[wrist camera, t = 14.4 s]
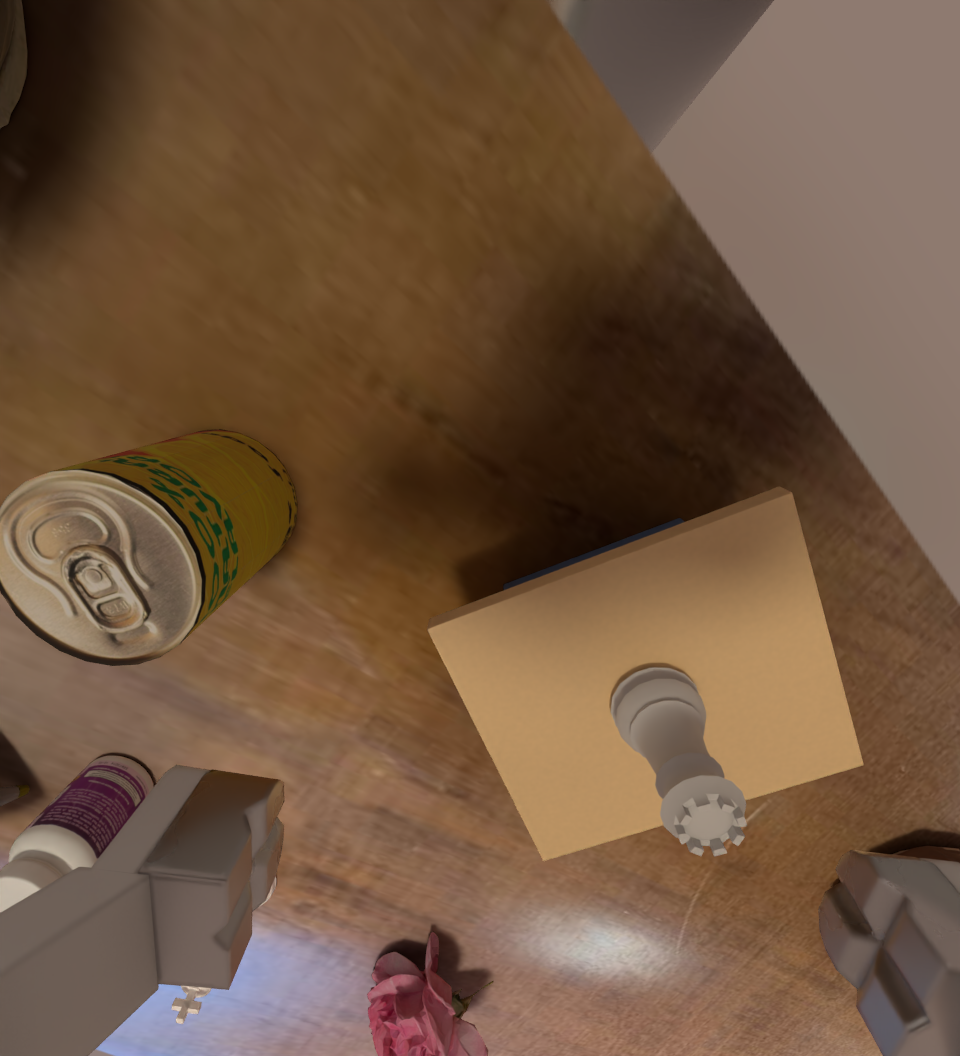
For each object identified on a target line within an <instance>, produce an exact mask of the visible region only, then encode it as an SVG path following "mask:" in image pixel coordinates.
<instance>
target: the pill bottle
mask: <svg viewBox="0 0 960 1056" xmlns="http://www.w3.org/2000/svg"><path fill="white" fill-rule="evenodd" d="M153 787H154V786H153V782H152V779H151V777H150V775H149V774H148V772H147V771H146V770H145V769H144V768H143V767H142V766H141V765H140V764H138V763H136V762H135V761H133V760H131V759H128V758H125V757H122V756H104V757H101V758H98V759H96V760H94V761H93V762H91V763H90V764H89V765H88V766H87V767H86V768H85V769H84V770H83V771H82V772H81V773H80V774H79V775H78V776H77V777H76V778H75V779H74V780H73V781H72V782H71V783H70V784H69V785H68V786H67V787H66V788H65V789H64V790H63V791H62V792H61V793H60V794H59V795H58V796H57V797H56V798H55V799H54V800H53V801H52V802H51V803H50V804H49V805H48V806H47V807H46V808H45V809H44V810H43V812H42V813H41V814H40V815H39V816H37V817H36V819H35V820H34V821H33V822H32V823H31V824H30V825H29V826H28V827H27V828H26V829H25V830H24V831H23V832H22V833H21V834H20V835H19V836H18V838H17V839H16V840H15V842H14V843H13V845H12V847H11V850H10V854H9V864H7V865H5V866H4V867H3V868H2V869H1V871H0V913H1V912H2V911H4V910H6V909H8V908H9V907H11V906H13V905H14V904H16V903H18V902H20V901H21V900H23V899H25V898H26V897H28V896H30V895H31V894H33V893H35V892H37V891H38V890H40V889H42V888H43V887H45V886H47V885H49V884H50V883H52V882H54V881H55V880H57V879H59V878H60V877H62V876H64V875H66V874H67V873H69V872H71V871H72V870H74V869H76V868H78V867H89V868H91V867H92V866H93V865H94V863H95V862H96V861H97V860H98V858H99V857H100V856H101V854H102V853H103V852H104V851H105V849H106V848H107V847H108V845H109V844H110V843H111V842H112V840H113V839H114V838H115V836H116V835H117V834H118V832H119V831H120V830H121V829H122V827H123V826H124V825H125V823H126V822H127V821H128V820H129V818H130V817H131V816H132V814H133V813H134V812H135V811H136V809H137V808H138V807H139V805H140V804H141V803H142V802H143V800H144V799H145V798H146V796H147V795H148V794H149V793H150V791H151V790H152V789H153Z"/></svg>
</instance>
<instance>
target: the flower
mask: <svg viewBox="0 0 960 1056" xmlns="http://www.w3.org/2000/svg"><path fill="white" fill-rule="evenodd" d="M438 955H439V940H438V937H437V935H436V934H435V933H434V932H431V934H430V937H429V940H428V945H427V950H426V960H425V970H424V971H420V970H419V969H418V968H417V966H416V965H415V964H414V963H412V962H411V961H410V960H408V959H407V958H405V957H404V956H402V955H400V954H398V953H397V952H392V953H389V954H386V955H384V956H382V957H381V958H380V959H379V960H377V962H376V966H375V970H374V972H373V973H372V978H373V979H374V981H375V982H376V983H377V984H378V985H376V986H375V987H373V988H371V991H370V992H369V993H368V994H367V995H368V999H369V1001H370V1002H371V1003H372V1004H371V1006H370V1007H369V1008H368V1015H369V1019H370V1025H369V1027H370V1028H371V1029H372V1033H371V1034H372V1035H373V1041H374V1045H375V1049H376V1052H377V1054H378V1056H488V1049H487V1047H486V1045H485V1044H484V1041H483V1039H482V1037H481V1036H480V1034H479V1033H478V1031H477V1029H476V1027H475V1025H473V1024H471V1023H468V1022H466V1021H464V1020H462V1019H461V1017H462V1016H463V1014H464V1013H465V1012H466V1011H467V1008H468V1006H469V1004H470V1001H471V999H472V997H473V996H474V995H475V994H476V993H477V992H478V991H479V990H478V991H477V992H476V993H474V994H473V995H471V996H468V997H466V998H463V999H460V996H459V993H460V991H461V990H462V989H461V990H458V991H455V992H452V989H451V986H450V985H449V984H447V983H446V982H445V981H444V980H443V979H442V978H441V977H439V976H438V975H437V974H436V972H437V969H438ZM491 983H493V981H492V982H490V983H489V984H491ZM489 984H487V985H486V986H488V985H489ZM486 986H484V987H486ZM484 987H483V988H484ZM481 989H482V988H481ZM481 989H480V990H481Z"/></svg>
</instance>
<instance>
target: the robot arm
mask: <svg viewBox="0 0 960 1056" xmlns="http://www.w3.org/2000/svg"><path fill="white" fill-rule="evenodd" d="M283 803H284V782H282V781H281V780H278V779H271V778H264V777H258V776H251V775H245V774H238V773H231V772H225V771H218V770H206V769H200V768H193V767H187V766H180V765H176V766H174V767H173V768H171V769H170V770H168V771H167V772H165V773H164V775H163V776H162V777H161V778H160V780H159V781H158V782H157V784H156V785H155V786H154V787H153V789H152V790H151V791H150V793H149V794H148V795H147V796H146V798H145V799H144V800H143V802H142V803H141V804H140V805H139V807H138V808H137V809H136V811H135V812H134V813H133V814H132V816H131V817H130V818H129V820H128V821H127V822H126V823H125V825H124V826H123V827H122V829H121V830H120V831H119V832H118V834H117V835H116V836H115V838H114V839H113V840H112V842H111V843H110V844H109V845H108V847H107V848H106V849H105V851H104V852H103V853H102V854H101V856H100V857H99V858H98V860H97V861H96V862H95V863H94V865H93V866H92V867H91V868H89V867H78V868H76V869H74V870H72V871H71V872H69V873H67V874H66V875H64V876H62V877H60V878H59V879H57V880H55V881H54V882H52V883H50V884H49V885H47V886H45V887H43V888H42V889H40V890H38V891H37V892H35V893H33V894H31V895H30V896H28V897H26V898H25V899H23V900H21V901H20V902H18V903H16V904H14V905H13V906H11V907H9V908H8V909H6V910H4V911H2V912H1V913H0V1056H88V1055H89V1054H90V1053H92V1052H93V1051H94V1050H95V1049H96V1048H97V1047H98V1046H99V1045H100V1044H101V1043H102V1042H103V1041H104V1040H105V1039H106V1038H107V1037H108V1036H109V1035H111V1034H112V1033H113V1032H114V1031H115V1030H116V1029H117V1028H118V1027H119V1026H120V1025H121V1024H122V1023H123V1022H124V1021H125V1020H126V1019H127V1018H128V1017H129V1016H131V1015H132V1014H133V1013H134V1012H135V1011H136V1010H137V1009H138V1008H139V1007H140V1006H141V1005H142V1004H143V1003H144V1002H145V1001H146V1000H147V999H148V998H149V997H150V996H152V995H153V994H154V993H155V992H156V991H157V990H158V984H167V985H179V986H191V987H203V988H214V989H226V990H229V988H230V986H231V983H232V981H233V978H234V976H235V974H236V971H237V969H238V966H239V964H240V962H241V959H242V957H243V955H244V952H245V950H246V947H247V945H248V943H249V940H250V938H251V935H252V912H253V911H254V910H255V909H256V908H257V907H259V906H260V905H261V904H262V903H264V902H265V901H266V899H267V897H268V894H269V892H270V889H271V887H272V884H273V881H274V879H275V875H276V872H277V868H278V864H279V861H280V857H281V851H282V845H283V835H284V825H283V824H282V822H281V821H280V820H279V819H278V817H277V816H278V814H279V811H280V809H281V807H282V805H283ZM836 871H837V874H838V876H839V878H840V881H841V882H839V883H838V884H836V885H835V886H833V887H832V888H830V889H829V890H827V891H826V892H825V894H824V896H823V899H822V902H821V904H820V907H819V909H818V910H819V926H820V933H821V936H822V939H823V943H824V946H825V949H826V951H827V953H828V955H829V957H830V959H831V960H832V962H833V964H834V966H835V968H836V970H837V971H838V972H839V973H841V974H842V975H843V976H844V977H845V978H846V979H847V980H848V981H849V982H850V983H851V984H852V985H853V986H855V987H856V988H857V1005H856V1007H857V1009H858V1011H859V1012H860V1014H861V1016H862V1018H863V1020H864V1022H865V1023H866V1025H867V1027H868V1029H869V1031H870V1032H871V1034H872V1036H873V1038H874V1040H875V1042H876V1043H877V1045H878V1047H879V1049H880V1051H881V1053H882V1054H883V1056H960V863H959V862H953V861H944V860H935V859H926V858H916V857H909V856H900V855H891V854H882V853H874V852H865V851H856V850H850V851H849V852H847V853H846V854H844V855H842V857H841V859H840V861H839V863H838V865H837V867H836Z"/></svg>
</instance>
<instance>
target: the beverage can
mask: <svg viewBox="0 0 960 1056" xmlns="http://www.w3.org/2000/svg"><path fill="white" fill-rule="evenodd" d="M296 515H297V500H296V495H295V489H294V486H293V484H292V481H291V479H290V477H289V475H288V473H287V471H286V469H285V468H284V466H283V465H282V464H281V463H280V461H279V460H278V459H277V458H276V456H275V455H274V454H273V453H272V452H270V451H269V450H268V449H267V448H265V447H264V446H263V445H262V444H260V443H259V442H258V441H256V440H253V439H251V438H249V437H247V436H245V435H243V434H240V433H236V432H231V431H226V430H207V431H199V432H196V433H192V434H188V435H184V436H181V437H177V438H173V439H170V440H166V441H162V442H159V443H155V444H151V445H147V446H144V447H140V448H136V449H133V450H129V451H125V452H121V453H118V454H114V455H110V456H107V457H103V458H99V459H96V460H92V461H88V462H84V463H81V464H77V465H73V466H70V467H66V468H62V469H59V470H55V471H51V472H48V473H46V474H43V475H40V476H38V477H35V478H33V479H30V480H27V481H25V482H24V483H23V484H22V485H20V486H19V487H18V488H17V489H16V490H14V491H13V492H12V493H11V494H10V495H8V496H7V497H6V499H5V501H4V502H3V504H2V506H1V507H0V591H1V593H2V595H3V596H4V598H5V599H6V601H7V602H8V604H9V605H10V607H11V608H12V610H13V611H14V613H15V614H16V616H17V617H18V618H19V619H20V620H21V621H22V622H23V623H24V624H25V625H26V626H27V627H28V628H29V629H30V630H31V631H32V632H33V633H34V634H36V635H37V636H38V637H40V638H41V639H43V640H44V641H46V642H47V643H49V644H50V645H52V646H53V647H55V648H56V649H58V650H60V651H62V652H64V653H67V654H69V655H72V656H74V657H77V658H79V659H82V660H84V661H87V662H93V663H99V664H105V665H110V666H119V665H136V664H141V663H144V662H147V661H150V660H153V659H156V658H159V657H161V656H163V655H164V654H166V653H167V652H169V651H170V650H172V649H173V648H175V647H176V646H177V645H179V644H180V643H181V642H182V641H183V640H184V639H186V638H187V637H188V636H189V635H190V634H191V633H192V632H193V631H194V630H195V629H196V628H197V627H198V626H199V625H201V624H202V623H203V622H204V621H205V620H206V619H207V618H208V617H209V616H210V615H211V614H212V613H213V612H214V611H216V610H217V609H218V608H219V607H220V606H221V605H222V604H223V603H224V602H225V601H226V600H227V599H228V598H230V597H231V596H232V595H233V594H234V593H235V592H236V591H237V590H238V589H239V588H240V587H241V586H242V585H243V584H245V583H246V582H247V581H248V580H249V579H250V578H251V577H252V576H253V575H254V574H255V573H256V572H257V571H259V570H260V569H261V568H262V567H263V566H264V565H265V564H266V563H267V562H268V561H269V560H270V559H271V558H272V557H274V556H275V555H276V554H277V553H278V552H279V551H280V550H281V548H282V547H283V546H284V545H285V543H286V542H287V541H288V540H289V538H290V536H291V534H292V531H293V528H294V526H295V523H296Z"/></svg>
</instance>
